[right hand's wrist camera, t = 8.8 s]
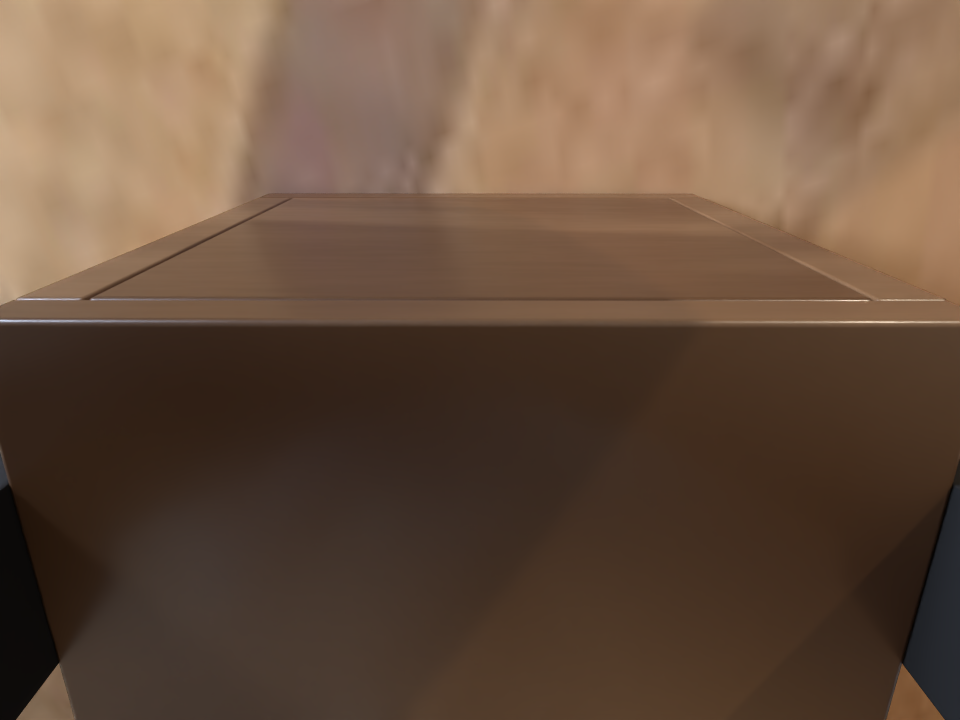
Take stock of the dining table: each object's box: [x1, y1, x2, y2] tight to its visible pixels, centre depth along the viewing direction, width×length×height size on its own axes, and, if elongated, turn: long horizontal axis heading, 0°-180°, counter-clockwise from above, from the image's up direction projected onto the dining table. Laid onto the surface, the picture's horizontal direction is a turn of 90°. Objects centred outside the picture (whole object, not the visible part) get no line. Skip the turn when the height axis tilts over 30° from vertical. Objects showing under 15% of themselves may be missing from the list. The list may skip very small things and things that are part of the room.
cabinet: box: [0, 194, 960, 720], centre depth 16 cm, size 22×11×11 cm, turn 0°
